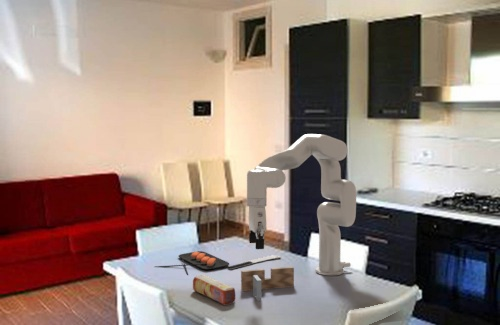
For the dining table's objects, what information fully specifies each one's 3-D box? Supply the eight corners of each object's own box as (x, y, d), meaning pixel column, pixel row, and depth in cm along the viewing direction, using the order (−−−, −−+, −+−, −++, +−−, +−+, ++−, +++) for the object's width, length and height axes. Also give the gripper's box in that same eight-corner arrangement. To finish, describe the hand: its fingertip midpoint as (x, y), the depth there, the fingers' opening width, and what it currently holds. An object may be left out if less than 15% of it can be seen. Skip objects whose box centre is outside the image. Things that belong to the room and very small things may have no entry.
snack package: (237, 302, 201) (236, 285, 200) (223, 307, 197) (222, 289, 196) (205, 288, 217) (204, 272, 217) (191, 292, 213) (191, 275, 213)
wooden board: (292, 285, 220) (292, 266, 219) (293, 286, 219) (293, 267, 218) (241, 289, 215) (241, 270, 214) (242, 291, 213) (242, 271, 213)
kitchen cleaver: (269, 253, 268) (282, 254, 260) (269, 256, 268) (282, 258, 260) (219, 265, 248) (232, 267, 240) (219, 268, 248) (232, 271, 240)
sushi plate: (232, 268, 246) (232, 260, 246) (173, 279, 229) (173, 271, 229) (201, 254, 270) (201, 246, 270) (147, 263, 253) (146, 256, 253)
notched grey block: (253, 295, 209) (253, 275, 208) (257, 294, 209) (256, 275, 208) (257, 300, 203) (257, 280, 202) (261, 300, 203) (261, 280, 202)
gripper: (272, 205, 195) (272, 251, 196) (260, 198, 211) (260, 240, 213) (252, 206, 193) (252, 252, 194) (242, 198, 210) (241, 241, 211)
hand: (256, 245), depth 204 cm, fingers open, 9 cm apart
